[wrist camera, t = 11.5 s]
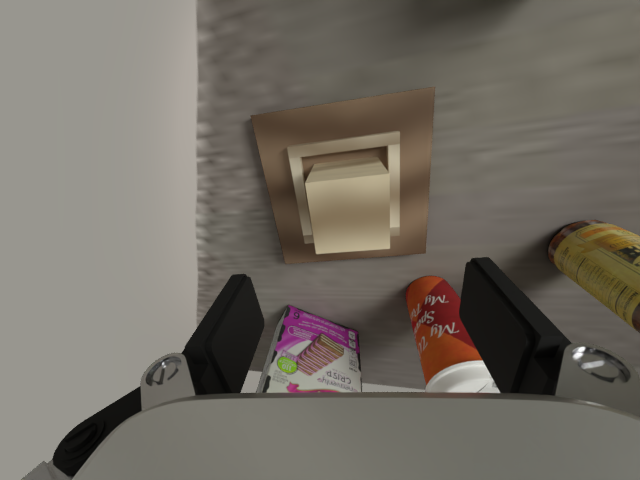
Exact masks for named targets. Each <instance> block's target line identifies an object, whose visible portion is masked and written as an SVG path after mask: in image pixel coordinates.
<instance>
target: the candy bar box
mask: <svg viewBox="0 0 640 480" xmlns="http://www.w3.org/2000/svg"><path fill="white" fill-rule="evenodd" d="M299 392H362V381H361V366H360V350H359V335H358V332H357V331H354V330H352V329H349V328H346V327H344V326H341V325H339V324H336V323H334V322H331V321H328V320H326V319H323V318H321V317H318V316H315V315H313V314H310V313H308V312H305V311H303V310H300V309H298V308H295V307H292V306H290V305H288V306H287V308H286V310H285V312H284V314H283V316H282V318H281V319H280V321H279V323H278V325H277V327H276V330H275V333H274V336H273V340H272V343H271V346H270V349H269V352H268V356H267V359H266V362H265V366H264V369H263V372H262V375H261V378H260V381H259V385H258V388H257V391H256V393H299Z"/></svg>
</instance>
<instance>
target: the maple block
mask: <svg viewBox="0 0 640 480" xmlns="http://www.w3.org/2000/svg"><path fill="white" fill-rule="evenodd" d="M305 186H306V193H307V199H308V206H309V212H310V218H311V225H312V231H313V237H314V244H315V250H316V254H325V253H338V252H352V251H366V250H380V249H390V173H389V172H388V171H387V169H386V168H385V167H384V165H383V164H382V162H381V161H380V160H379V158H378V157H370V158H362V159H353V160H345V161H336V162H328V163H319V164H314V166H313V168H312V170H311V172H310V174H309V176H308V178H307V180H306V182H305Z"/></svg>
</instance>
